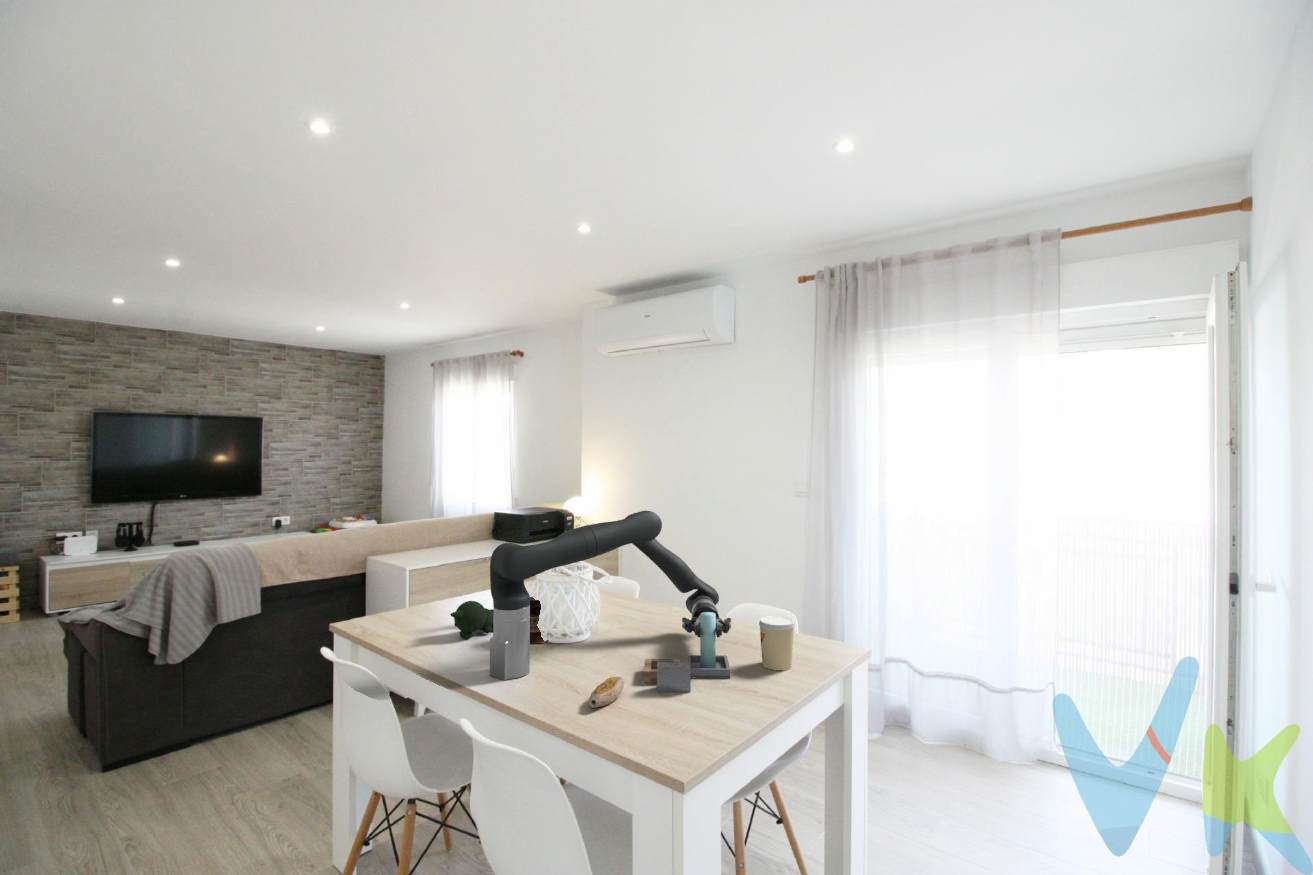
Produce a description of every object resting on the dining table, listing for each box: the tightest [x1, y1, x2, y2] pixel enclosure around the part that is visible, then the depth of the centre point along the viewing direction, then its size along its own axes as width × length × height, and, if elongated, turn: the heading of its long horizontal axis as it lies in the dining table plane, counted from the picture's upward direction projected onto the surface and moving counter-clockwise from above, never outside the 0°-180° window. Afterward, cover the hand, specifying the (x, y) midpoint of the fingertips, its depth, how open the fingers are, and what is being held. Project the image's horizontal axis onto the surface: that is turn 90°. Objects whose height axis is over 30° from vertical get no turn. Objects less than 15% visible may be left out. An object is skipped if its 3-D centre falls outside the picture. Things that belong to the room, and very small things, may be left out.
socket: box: [643, 658, 681, 685], centre depth 153 cm, size 9×9×3 cm
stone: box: [588, 676, 625, 709], centre depth 139 cm, size 5×14×4 cm, turn 156°
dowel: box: [699, 612, 717, 668], centre depth 158 cm, size 4×4×14 cm
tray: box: [686, 654, 731, 679], centre depth 157 cm, size 11×11×2 cm
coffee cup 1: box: [530, 596, 545, 644], centre depth 182 cm, size 9×8×13 cm
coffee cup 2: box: [758, 615, 795, 671], centre depth 161 cm, size 9×9×12 cm
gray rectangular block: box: [656, 661, 692, 693], centre depth 145 cm, size 3×8×6 cm, turn 89°
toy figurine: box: [449, 600, 493, 640], centre depth 189 cm, size 9×19×25 cm
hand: (708, 633), depth 155 cm, fingers open, 4 cm apart
